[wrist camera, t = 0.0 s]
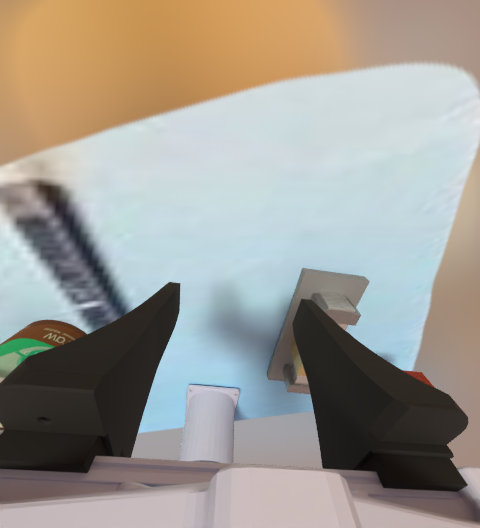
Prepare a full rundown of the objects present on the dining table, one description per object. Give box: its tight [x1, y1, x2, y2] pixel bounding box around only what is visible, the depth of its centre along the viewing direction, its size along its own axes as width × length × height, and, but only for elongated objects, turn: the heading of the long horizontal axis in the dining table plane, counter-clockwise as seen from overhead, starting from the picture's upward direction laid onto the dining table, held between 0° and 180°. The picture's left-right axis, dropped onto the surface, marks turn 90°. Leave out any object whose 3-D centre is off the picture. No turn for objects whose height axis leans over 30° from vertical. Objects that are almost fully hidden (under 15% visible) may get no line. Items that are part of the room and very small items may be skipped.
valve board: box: [267, 268, 369, 381], centre depth 27 cm, size 18×7×1 cm, turn 171°
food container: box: [0, 320, 87, 430], centre depth 23 cm, size 12×6×10 cm, turn 56°
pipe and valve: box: [283, 291, 361, 394], centre depth 25 cm, size 14×4×4 cm, turn 171°
